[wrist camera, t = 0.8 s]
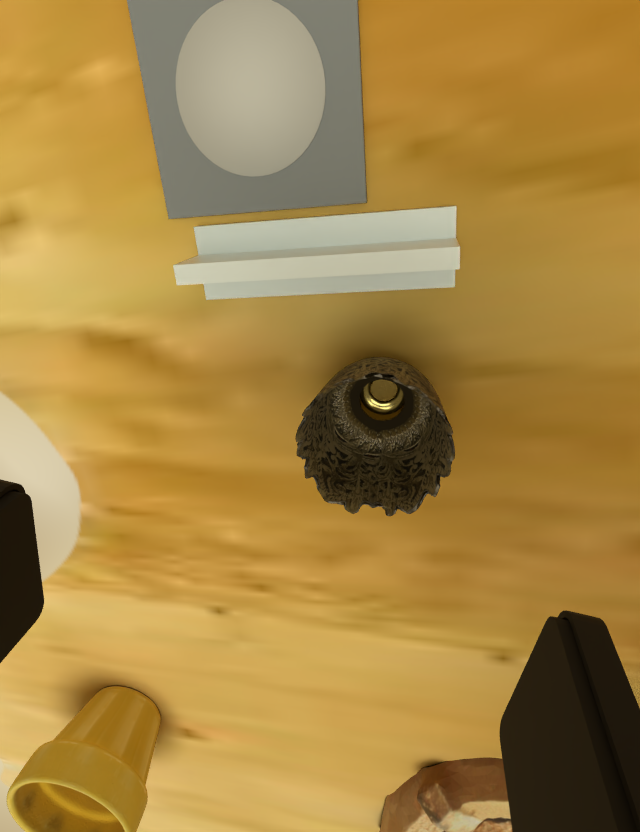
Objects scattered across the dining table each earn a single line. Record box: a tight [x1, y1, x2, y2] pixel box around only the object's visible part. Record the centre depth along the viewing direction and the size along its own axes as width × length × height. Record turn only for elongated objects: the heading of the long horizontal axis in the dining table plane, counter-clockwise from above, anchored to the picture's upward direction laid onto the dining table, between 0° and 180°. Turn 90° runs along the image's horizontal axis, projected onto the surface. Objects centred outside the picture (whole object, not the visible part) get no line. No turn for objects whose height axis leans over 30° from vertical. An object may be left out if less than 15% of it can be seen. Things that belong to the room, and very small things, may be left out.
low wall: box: [173, 206, 460, 300], centre depth 27 cm, size 4×14×4 cm, turn 95°
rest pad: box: [127, 0, 367, 219], centre depth 26 cm, size 11×11×1 cm
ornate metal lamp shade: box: [296, 357, 455, 516], centre depth 28 cm, size 8×7×8 cm
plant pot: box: [7, 686, 161, 832], centre depth 45 cm, size 10×10×10 cm
